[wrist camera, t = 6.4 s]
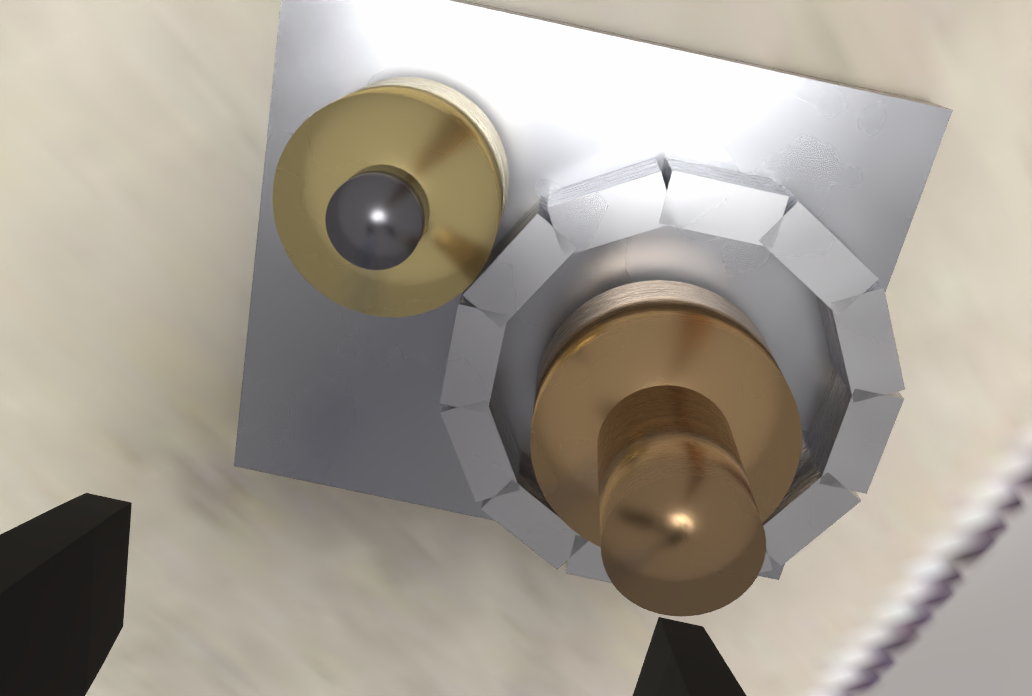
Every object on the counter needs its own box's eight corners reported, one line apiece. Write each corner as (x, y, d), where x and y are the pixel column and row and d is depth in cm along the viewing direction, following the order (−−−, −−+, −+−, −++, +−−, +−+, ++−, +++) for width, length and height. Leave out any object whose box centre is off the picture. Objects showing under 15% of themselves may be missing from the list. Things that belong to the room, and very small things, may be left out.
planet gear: (730, 521, 22) (783, 710, 16) (511, 466, 21) (486, 638, 16) (811, 314, 20) (903, 447, 14) (570, 252, 19) (566, 362, 14)
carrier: (788, 554, 23) (841, 699, 18) (250, 442, 23) (167, 560, 18) (954, 107, 19) (1075, 148, 14) (301, -35, 19) (212, -40, 14)
